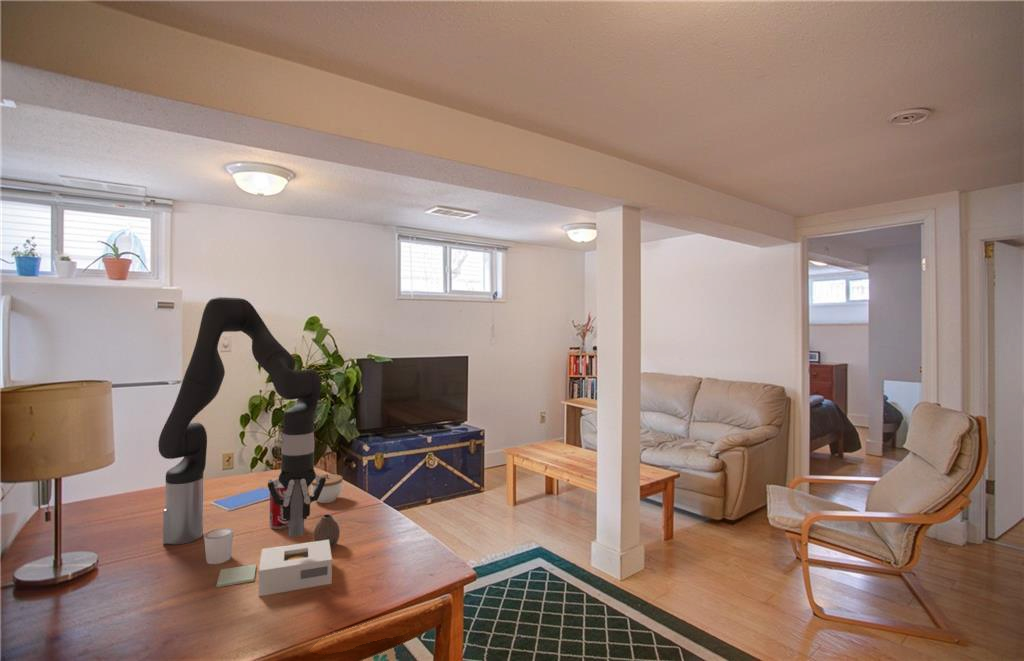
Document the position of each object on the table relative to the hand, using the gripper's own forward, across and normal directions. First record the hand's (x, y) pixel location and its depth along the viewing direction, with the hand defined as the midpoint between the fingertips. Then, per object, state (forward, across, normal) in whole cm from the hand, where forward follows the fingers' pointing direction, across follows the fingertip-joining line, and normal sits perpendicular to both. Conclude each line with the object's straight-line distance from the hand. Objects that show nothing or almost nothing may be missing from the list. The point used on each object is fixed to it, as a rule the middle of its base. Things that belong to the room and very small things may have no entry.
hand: (296, 518), depth 125 cm
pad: (+15, -13, +6) cm, 21 cm away
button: (+15, 0, 0) cm, 15 cm away
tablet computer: (+16, -16, +65) cm, 69 cm away
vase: (+15, +8, +16) cm, 23 cm away
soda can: (+15, -4, +36) cm, 39 cm away
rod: (+4, 0, 0) cm, 4 cm away
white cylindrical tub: (+15, -19, +18) cm, 30 cm away
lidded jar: (+15, +10, +55) cm, 58 cm away
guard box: (+15, 0, 0) cm, 15 cm away
